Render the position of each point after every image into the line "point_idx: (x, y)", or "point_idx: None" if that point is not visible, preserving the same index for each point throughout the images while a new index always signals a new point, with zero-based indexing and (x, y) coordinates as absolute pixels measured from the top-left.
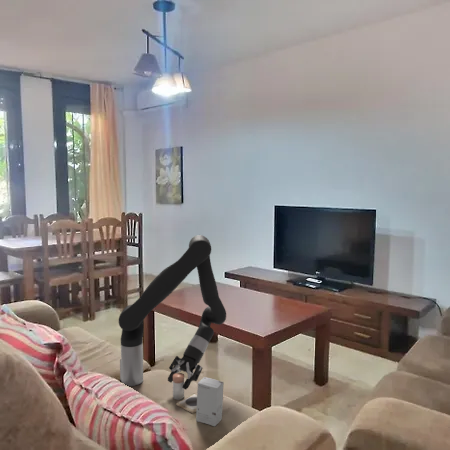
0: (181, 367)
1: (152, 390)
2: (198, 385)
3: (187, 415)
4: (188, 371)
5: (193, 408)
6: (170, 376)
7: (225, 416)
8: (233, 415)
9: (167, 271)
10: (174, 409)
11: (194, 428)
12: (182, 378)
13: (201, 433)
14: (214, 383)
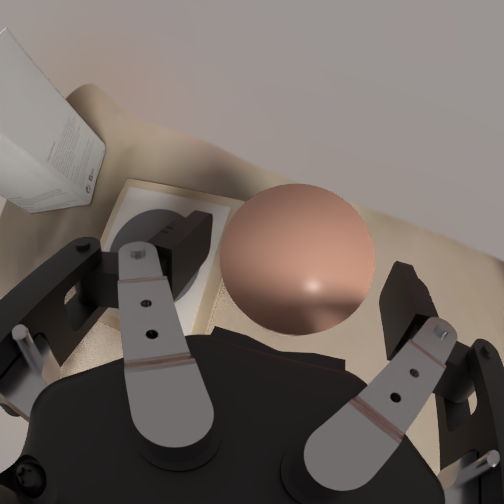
0: (333, 377)
1: (460, 285)
2: (10, 38)
3: (152, 161)
4: (135, 283)
5: (130, 197)
6: (409, 282)
7: (22, 234)
8: (4, 254)
9: None
10: (235, 170)
11: (106, 117)
12: (225, 236)
13: (82, 114)
14: None
